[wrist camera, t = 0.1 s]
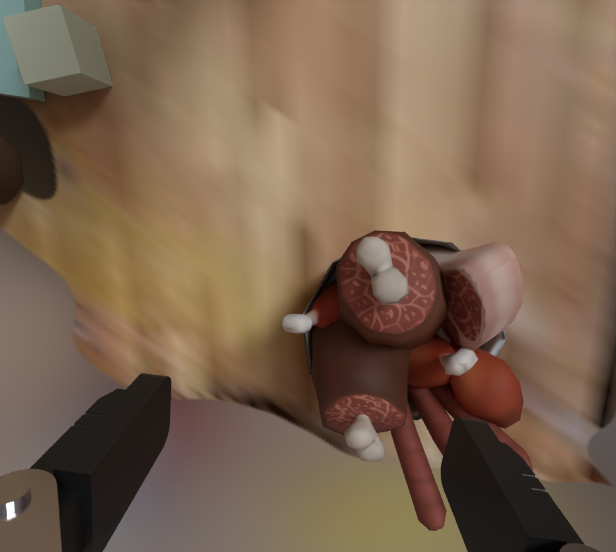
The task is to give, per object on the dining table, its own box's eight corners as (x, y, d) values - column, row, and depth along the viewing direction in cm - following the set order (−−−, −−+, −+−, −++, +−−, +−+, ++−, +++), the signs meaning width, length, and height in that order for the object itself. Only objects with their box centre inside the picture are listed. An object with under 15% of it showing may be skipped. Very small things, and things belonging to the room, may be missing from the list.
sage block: (46, 39, 35) (2, 17, 30) (96, 28, 34) (60, 3, 29) (64, 96, 36) (24, 84, 31) (113, 86, 36) (80, 72, 31)
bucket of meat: (272, 251, 39) (224, 325, 20) (418, 177, 37) (525, 179, 17) (354, 401, 43) (380, 581, 24) (490, 344, 41) (639, 493, 22)
